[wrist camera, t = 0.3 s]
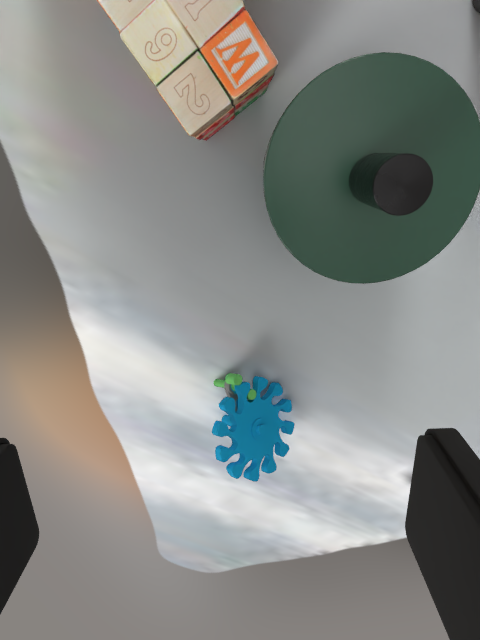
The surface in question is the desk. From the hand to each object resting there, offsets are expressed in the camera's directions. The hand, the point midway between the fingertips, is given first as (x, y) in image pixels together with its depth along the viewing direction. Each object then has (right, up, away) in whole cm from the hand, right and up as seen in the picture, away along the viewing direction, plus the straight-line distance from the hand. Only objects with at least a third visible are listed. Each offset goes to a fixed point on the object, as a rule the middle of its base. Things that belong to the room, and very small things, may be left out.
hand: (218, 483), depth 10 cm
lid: (+8, +12, +15) cm, 21 cm away
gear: (+2, -5, +35) cm, 35 cm away
